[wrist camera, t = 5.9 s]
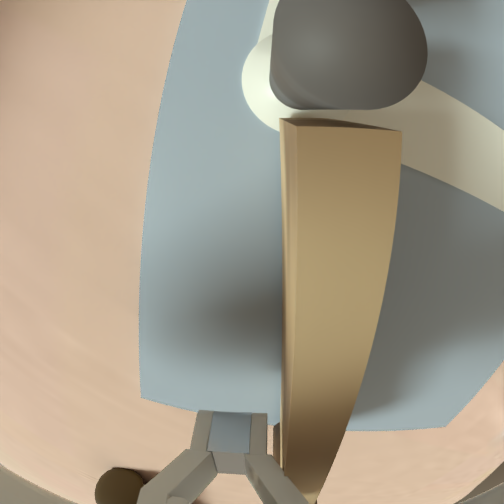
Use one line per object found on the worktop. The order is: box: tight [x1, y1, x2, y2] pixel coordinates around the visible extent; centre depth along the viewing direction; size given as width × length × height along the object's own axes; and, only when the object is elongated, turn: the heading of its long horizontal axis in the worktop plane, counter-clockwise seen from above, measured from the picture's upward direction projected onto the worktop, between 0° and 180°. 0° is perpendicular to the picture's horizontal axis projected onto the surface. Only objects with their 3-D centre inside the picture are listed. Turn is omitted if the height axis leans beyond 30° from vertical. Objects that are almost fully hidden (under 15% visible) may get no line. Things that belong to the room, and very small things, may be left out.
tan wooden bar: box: [269, 0, 428, 504], centre depth 8 cm, size 16×2×5 cm, turn 3°
